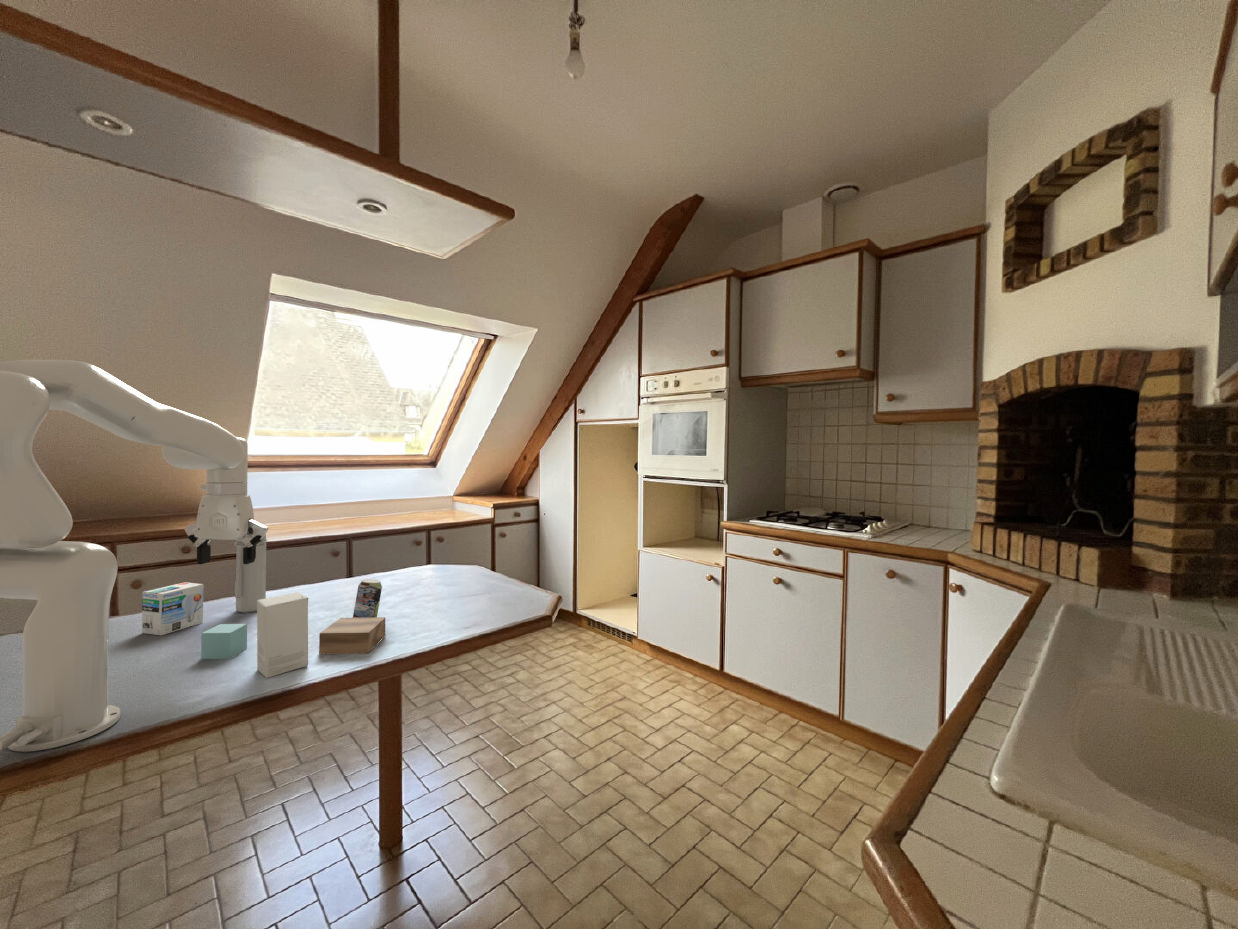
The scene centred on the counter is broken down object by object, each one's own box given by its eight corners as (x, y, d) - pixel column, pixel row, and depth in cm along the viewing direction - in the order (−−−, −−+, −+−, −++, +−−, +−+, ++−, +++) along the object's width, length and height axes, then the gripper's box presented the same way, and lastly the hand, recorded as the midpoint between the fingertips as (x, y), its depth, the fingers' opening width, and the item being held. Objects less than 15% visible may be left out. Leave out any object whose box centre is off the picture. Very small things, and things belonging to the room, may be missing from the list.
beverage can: (347, 624, 135) (348, 581, 135) (371, 617, 142) (372, 576, 141) (362, 629, 132) (362, 584, 132) (386, 621, 139) (386, 579, 138)
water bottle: (247, 605, 149) (248, 523, 149) (272, 606, 149) (274, 524, 149) (222, 615, 140) (223, 528, 140) (248, 616, 140) (250, 528, 139)
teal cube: (229, 659, 112) (230, 632, 112) (201, 659, 111) (201, 633, 111) (246, 648, 118) (247, 623, 118) (219, 649, 117) (220, 624, 117)
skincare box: (298, 658, 113) (299, 591, 112) (309, 667, 108) (310, 597, 108) (254, 670, 106) (255, 598, 106) (264, 679, 102) (265, 605, 102)
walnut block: (368, 653, 116) (368, 632, 116) (319, 654, 115) (319, 633, 115) (385, 636, 127) (385, 617, 127) (340, 637, 126) (340, 617, 126)
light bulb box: (160, 636, 124) (161, 593, 124) (140, 633, 125) (140, 591, 125) (204, 622, 134) (205, 583, 134) (184, 620, 135) (185, 581, 135)
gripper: (173, 490, 109) (173, 567, 110) (257, 491, 111) (256, 567, 111) (198, 488, 117) (198, 559, 117) (276, 489, 118) (275, 559, 119)
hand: (226, 563), depth 114 cm, fingers open, 9 cm apart
